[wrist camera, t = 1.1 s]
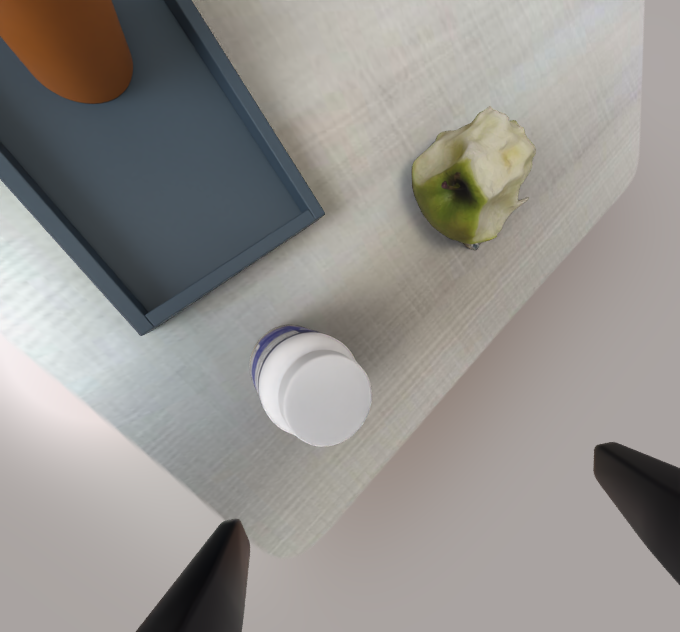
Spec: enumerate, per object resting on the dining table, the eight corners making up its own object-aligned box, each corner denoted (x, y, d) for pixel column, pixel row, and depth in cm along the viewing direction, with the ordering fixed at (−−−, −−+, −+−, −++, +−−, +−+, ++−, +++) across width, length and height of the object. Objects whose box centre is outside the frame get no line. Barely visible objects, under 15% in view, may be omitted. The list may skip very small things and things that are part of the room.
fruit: (392, 251, 25) (442, 215, 18) (398, 140, 26) (448, 56, 18) (494, 262, 27) (581, 234, 19) (497, 157, 28) (583, 88, 20)
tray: (149, 332, 18) (140, 336, 16) (-348, -230, 12) (-461, -335, 10) (316, 221, 22) (325, 213, 20) (2, -269, 15) (-30, -354, 13)
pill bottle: (339, 359, 23) (407, 393, 15) (289, 415, 22) (332, 488, 13) (287, 307, 21) (331, 313, 13) (230, 366, 20) (238, 412, 12)
